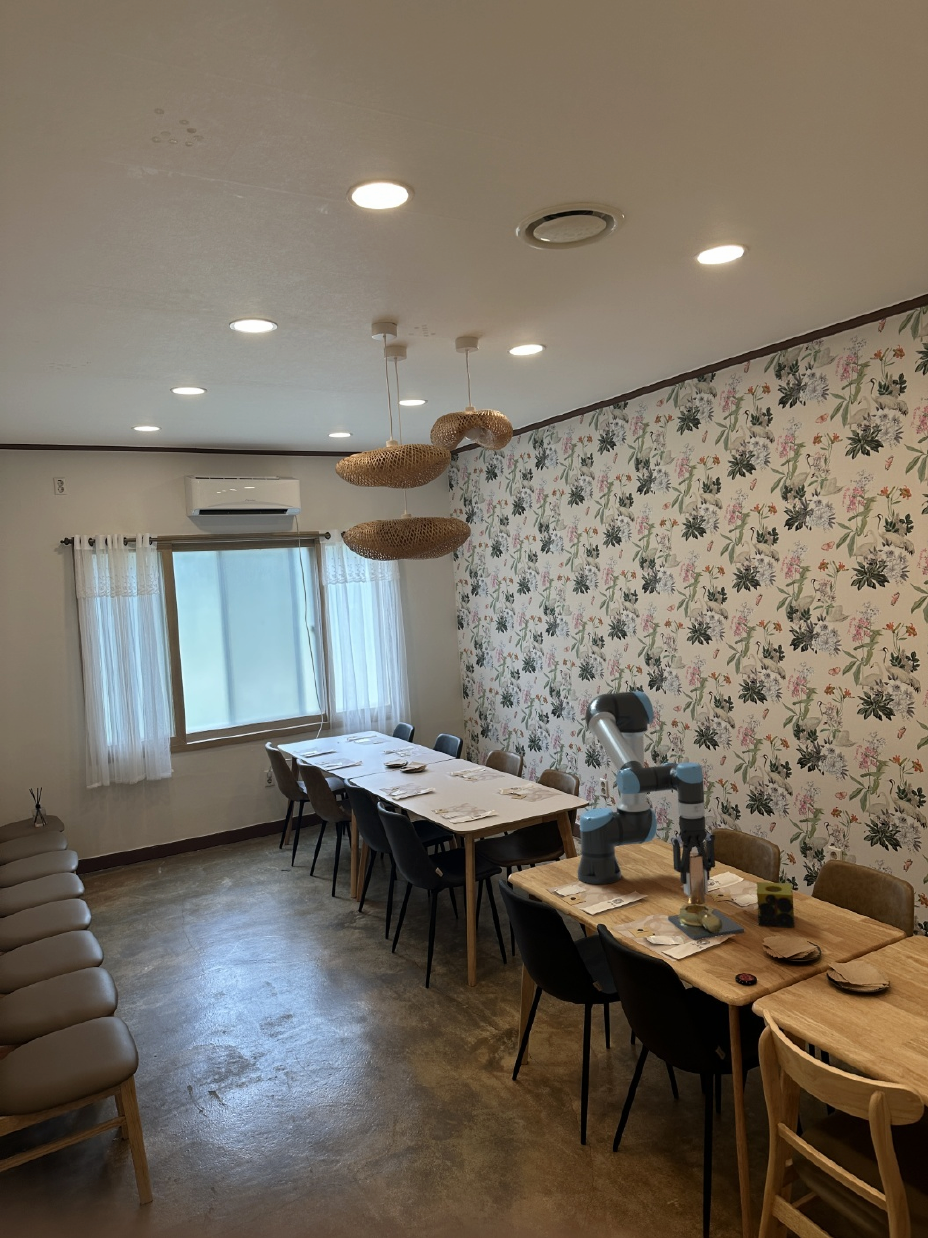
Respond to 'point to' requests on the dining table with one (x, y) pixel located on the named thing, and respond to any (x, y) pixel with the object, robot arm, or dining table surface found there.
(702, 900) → the pipe stub
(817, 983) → the dining table surface
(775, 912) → the olive cube piece
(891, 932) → the dining table surface
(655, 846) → the dining table surface
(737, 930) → the fitting base
